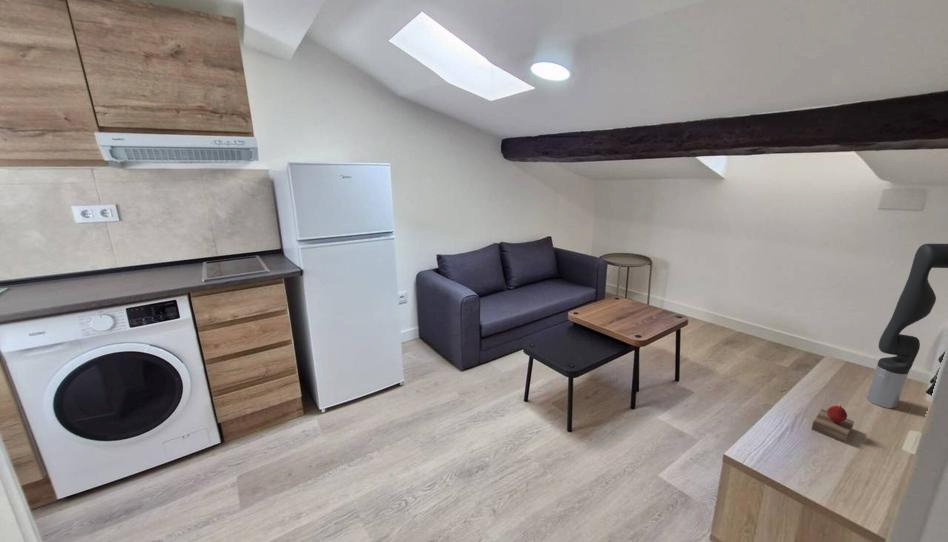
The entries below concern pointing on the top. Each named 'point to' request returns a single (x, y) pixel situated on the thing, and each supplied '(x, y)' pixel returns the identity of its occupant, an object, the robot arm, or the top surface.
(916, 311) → the robot arm
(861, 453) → the top surface
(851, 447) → the top surface
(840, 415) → the pomegranate
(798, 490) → the top surface
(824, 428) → the plinth
